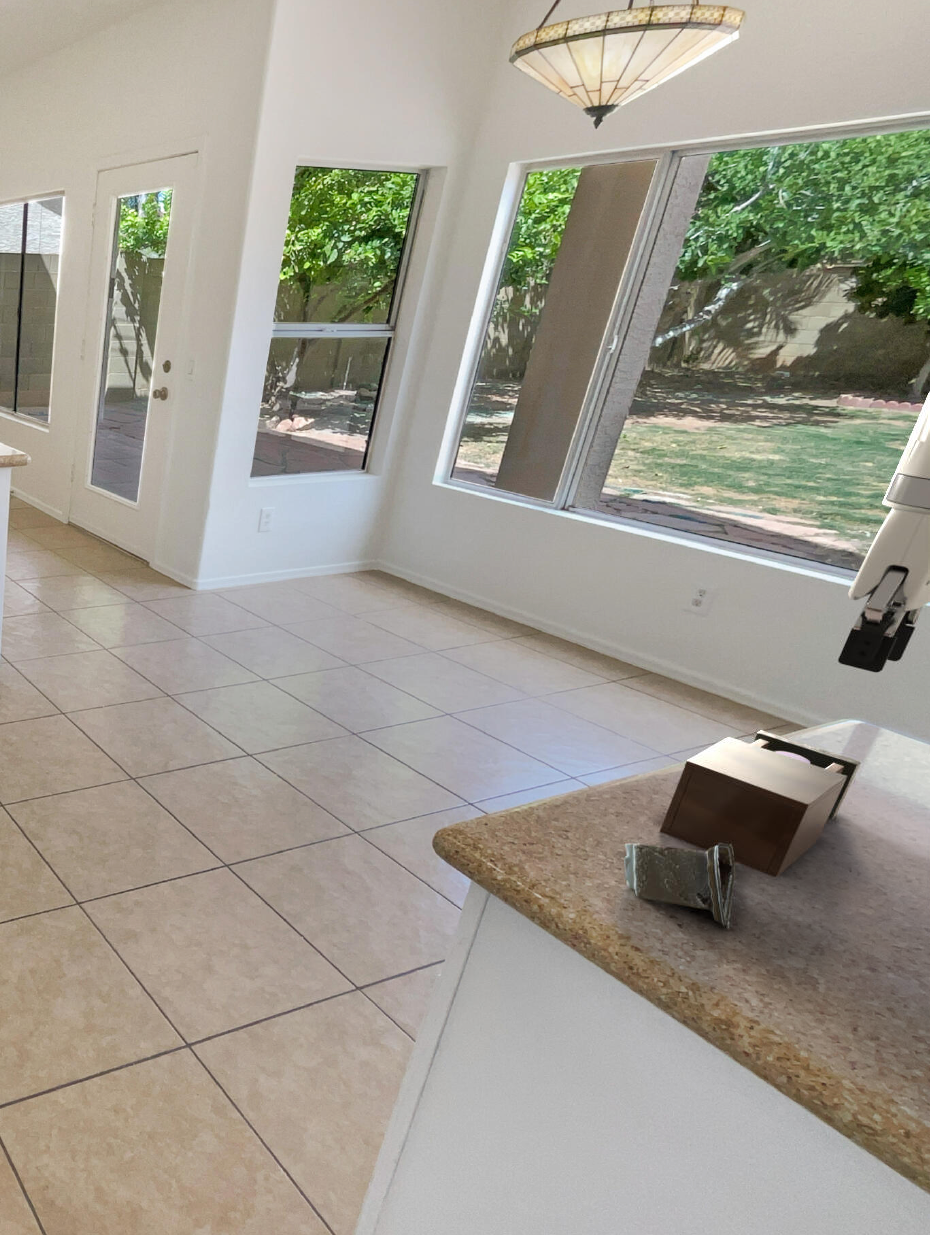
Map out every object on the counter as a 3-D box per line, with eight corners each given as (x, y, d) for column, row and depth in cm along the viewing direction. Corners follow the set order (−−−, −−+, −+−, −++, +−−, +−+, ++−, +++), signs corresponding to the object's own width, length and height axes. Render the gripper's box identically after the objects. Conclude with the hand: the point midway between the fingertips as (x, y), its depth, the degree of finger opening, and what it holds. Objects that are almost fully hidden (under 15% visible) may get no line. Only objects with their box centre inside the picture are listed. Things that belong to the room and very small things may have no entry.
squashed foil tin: (638, 841, 85) (613, 795, 78) (736, 851, 79) (718, 803, 73) (637, 936, 81) (611, 897, 74) (740, 953, 76) (721, 913, 69)
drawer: (754, 773, 96) (776, 721, 94) (848, 806, 90) (874, 751, 87) (704, 805, 90) (726, 750, 87) (802, 843, 83) (829, 785, 81)
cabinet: (701, 805, 91) (729, 736, 88) (813, 848, 84) (847, 776, 81) (659, 832, 86) (686, 760, 83) (774, 881, 79) (808, 804, 76)
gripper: (913, 482, 91) (846, 636, 97) (861, 497, 83) (791, 664, 89) (1022, 495, 85) (943, 659, 91) (977, 513, 77) (893, 691, 83)
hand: (869, 660), depth 90 cm, fingers open, 5 cm apart
